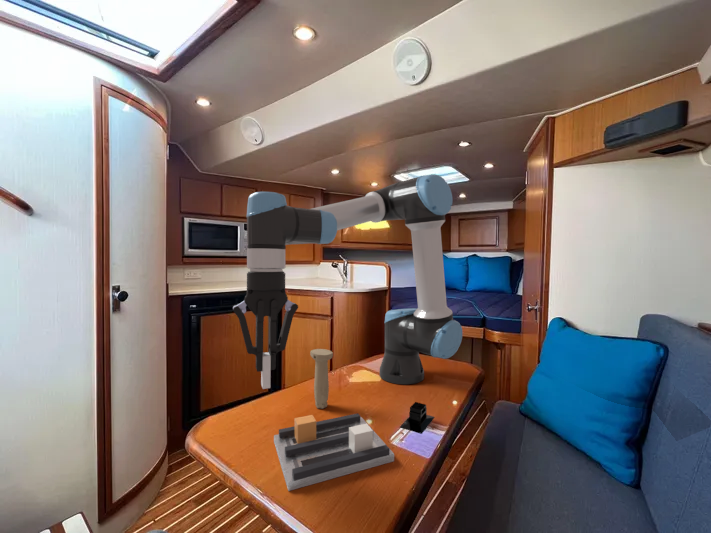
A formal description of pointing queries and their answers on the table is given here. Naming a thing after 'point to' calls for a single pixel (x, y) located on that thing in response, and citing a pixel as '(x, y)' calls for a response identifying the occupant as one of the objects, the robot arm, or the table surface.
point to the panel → (324, 456)
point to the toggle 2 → (360, 438)
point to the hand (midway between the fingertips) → (265, 385)
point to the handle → (321, 376)
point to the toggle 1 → (305, 429)
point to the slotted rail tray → (326, 442)
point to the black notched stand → (417, 418)
